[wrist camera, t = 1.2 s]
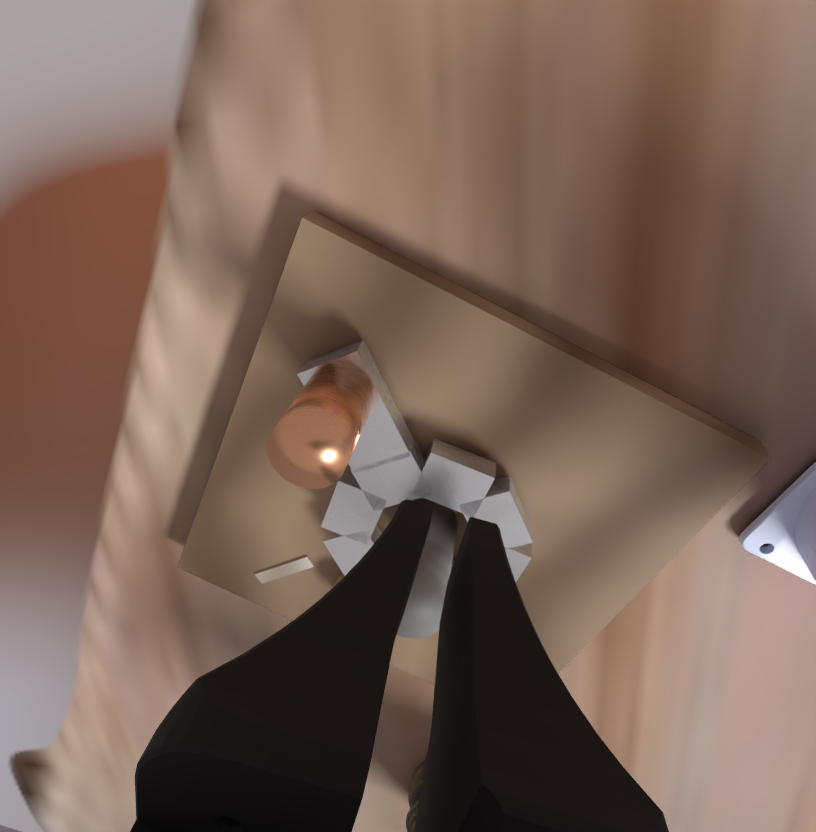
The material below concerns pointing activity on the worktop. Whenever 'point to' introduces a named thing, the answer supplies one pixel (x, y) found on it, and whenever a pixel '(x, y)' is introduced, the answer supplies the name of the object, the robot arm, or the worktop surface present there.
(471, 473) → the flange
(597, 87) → the worktop surface
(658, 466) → the jig base
